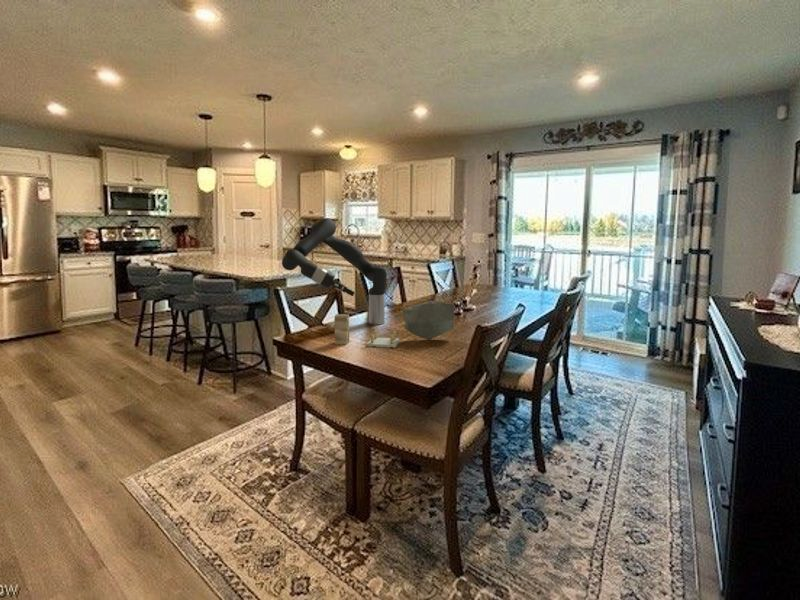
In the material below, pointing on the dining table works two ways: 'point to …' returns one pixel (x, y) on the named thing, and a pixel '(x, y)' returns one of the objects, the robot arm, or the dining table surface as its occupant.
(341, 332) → the tan wooden block
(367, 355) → the dining table surface
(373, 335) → the peg board
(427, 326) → the rock
